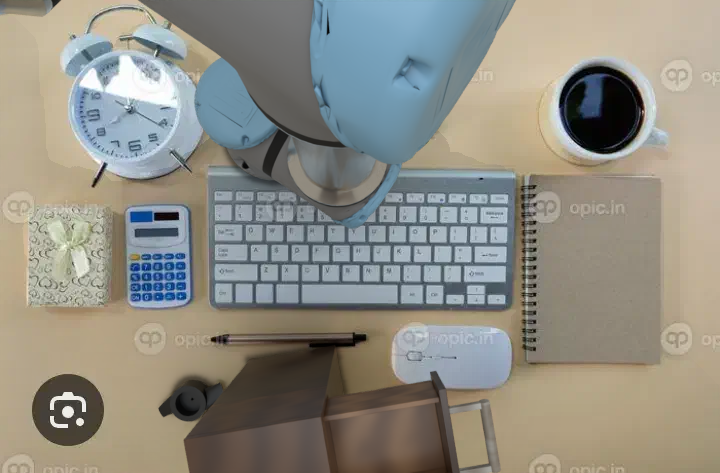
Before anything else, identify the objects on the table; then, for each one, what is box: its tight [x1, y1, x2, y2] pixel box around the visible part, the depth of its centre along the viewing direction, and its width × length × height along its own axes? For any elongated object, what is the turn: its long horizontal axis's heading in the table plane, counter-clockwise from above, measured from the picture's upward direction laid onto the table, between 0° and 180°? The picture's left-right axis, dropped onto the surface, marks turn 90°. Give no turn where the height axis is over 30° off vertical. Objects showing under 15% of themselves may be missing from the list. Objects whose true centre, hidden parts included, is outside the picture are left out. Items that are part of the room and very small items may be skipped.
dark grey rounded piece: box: [157, 379, 224, 423], centre depth 77 cm, size 8×10×3 cm
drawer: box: [323, 370, 502, 473], centre depth 54 cm, size 19×13×7 cm
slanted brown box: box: [183, 344, 345, 473], centre depth 64 cm, size 15×13×30 cm
